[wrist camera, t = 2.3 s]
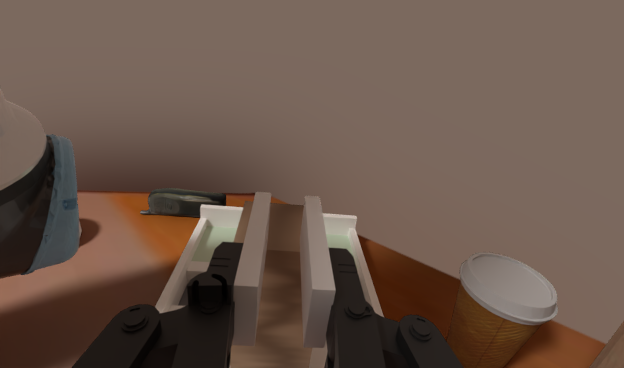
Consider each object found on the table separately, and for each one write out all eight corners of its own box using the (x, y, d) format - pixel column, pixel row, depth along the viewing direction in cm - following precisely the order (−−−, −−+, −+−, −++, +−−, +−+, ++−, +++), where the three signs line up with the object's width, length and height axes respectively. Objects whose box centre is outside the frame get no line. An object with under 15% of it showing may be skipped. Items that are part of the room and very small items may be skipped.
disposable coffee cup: (458, 310, 45) (487, 241, 40) (529, 363, 38) (576, 289, 33) (418, 340, 39) (446, 265, 34) (494, 409, 32) (543, 327, 28)
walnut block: (229, 388, 29) (231, 247, 22) (241, 325, 35) (245, 201, 28) (305, 390, 30) (328, 253, 23) (302, 328, 36) (320, 206, 29)
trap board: (407, 448, 28) (424, 408, 26) (104, 449, 26) (92, 404, 23) (350, 244, 56) (356, 215, 54) (202, 234, 54) (201, 204, 51)
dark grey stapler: (226, 190, 60) (142, 185, 57) (225, 197, 57) (136, 192, 54) (226, 212, 62) (144, 208, 59) (224, 221, 59) (138, 216, 56)
